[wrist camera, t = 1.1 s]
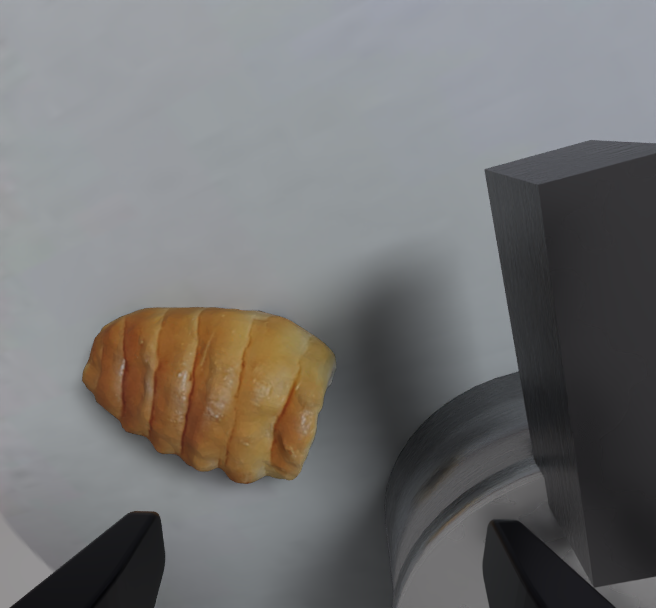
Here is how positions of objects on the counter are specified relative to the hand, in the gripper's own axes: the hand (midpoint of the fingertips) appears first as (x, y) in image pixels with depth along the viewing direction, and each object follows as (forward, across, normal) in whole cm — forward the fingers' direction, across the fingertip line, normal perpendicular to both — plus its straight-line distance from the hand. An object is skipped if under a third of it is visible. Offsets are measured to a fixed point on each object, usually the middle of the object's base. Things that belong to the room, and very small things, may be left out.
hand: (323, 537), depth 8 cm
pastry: (+13, +4, +4) cm, 14 cm away
